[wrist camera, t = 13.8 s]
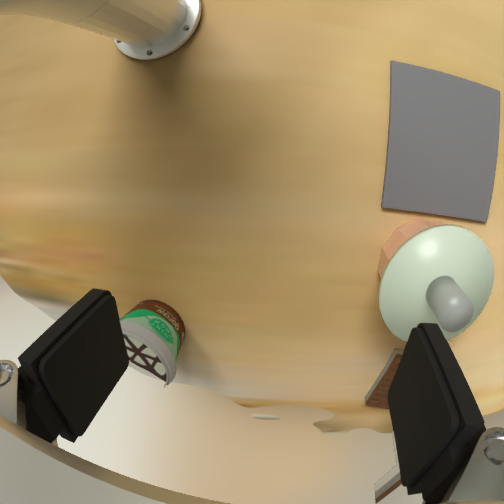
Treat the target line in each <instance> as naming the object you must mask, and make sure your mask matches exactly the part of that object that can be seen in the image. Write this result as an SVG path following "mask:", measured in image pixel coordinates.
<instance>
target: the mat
mask: <svg viewBox="0 0 504 504" xmlns="http://www.w3.org/2000/svg"><path fill="white" fill-rule="evenodd" d="M499 123H500V91H498V90H495V89H493V88H490V87H487V86H484V85H481V84H479V83H476V82H473V81H469V80H466V79H463V78H460V77H457V76H453V75H450V74H446V73H443V72H439V71H435V70H431V69H427V68H423V67H419V66H415V65H410V64H406V63H401V62H396V61H391V62H390V111H389V130H388V144H387V157H386V167H385V177H384V186H383V195H382V202H381V207H383V208H391V209H400V210H408V211H415V212H423V213H430V214H437V215H444V216H451V217H458V218H464V219H471V220H477V221H483V222H487V219H488V214H489V209H490V203H491V197H492V191H493V185H494V178H495V170H496V162H497V152H498V140H499Z"/></svg>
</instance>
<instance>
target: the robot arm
mask: <svg viewBox="0 0 504 504" xmlns="http://www.w3.org/2000/svg"><path fill="white" fill-rule="evenodd" d="M201 11H202V7H201V0H0V15H11V14H16V15H30V16H37V17H42V18H46V19H51V20H55V21H59V22H62V23H66V24H69V25H73V26H76V27H80V28H83V29H86V30H89V31H93V32H96V33H99V34H102V35H105V36H108V37H111V38H113V40H114V42H115V44H116V46H117V47H118V49H119V50H120V51H121V52H123V53H124V54H125V55H127V56H130V57H132V58H135V59H140V60H152V59H157V58H160V57H164V56H166V55H168V54H170V53H172V52H174V51H175V50H177V49H178V48H180V47H181V46H182V45H183V44H184V43H185V42H186V41H187V40H188V39H189V38H190V37H191V35H192V34H193V32H194V31H195V29H196V27H197V25H198V23H199V20H200V17H201ZM187 29H189V30H188V31H187ZM152 52H153V53H152ZM151 53H152V55H151ZM18 359H19V361H20V364H21V367H19V368H17V366H16V364H15V363H14V362H12V361H9V360H0V504H229V503H224V502H218V501H213V500H208V499H204V498H199V497H195V496H191V495H186V494H182V493H178V492H174V491H171V490H167V489H164V488H160V487H157V486H154V485H151V484H147V483H144V482H141V481H138V480H135V479H132V478H130V477H127V476H124V475H121V474H119V473H116V472H113V471H111V470H108V469H105V468H103V467H101V466H98V465H96V464H93V463H91V462H89V461H87V460H84V459H82V458H80V457H78V456H75V455H73V454H71V453H69V452H67V451H65V450H63V449H61V448H59V447H58V445H57V436H58V435H59V434H60V436H61V437H63V438H65V439H67V440H69V441H71V442H73V443H74V442H75V440H76V439H77V437H78V436H82V435H83V434H84V432H85V431H86V429H87V428H88V426H89V425H90V423H91V422H92V420H93V419H94V417H95V415H96V414H97V412H98V411H99V409H100V408H101V406H102V405H103V403H104V402H105V400H106V399H107V397H108V395H109V394H110V393H111V391H112V390H113V388H114V387H115V385H116V384H117V382H118V381H119V379H120V378H121V376H122V375H123V373H124V372H125V371H126V369H127V367H128V364H129V357H128V353H127V349H126V345H125V341H124V337H123V333H122V328H121V324H120V319H119V315H118V310H117V305H116V300H115V298H114V297H113V296H112V295H111V293H110V292H109V291H106V290H101V289H92V290H90V291H89V292H88V293H87V294H86V295H85V296H84V297H82V298H81V299H80V300H79V301H78V302H77V303H76V304H75V305H73V306H72V307H71V308H70V309H69V310H68V311H67V312H66V313H65V314H64V315H62V316H61V317H60V318H59V319H58V320H57V321H56V322H55V323H54V324H53V325H52V326H51V327H49V328H48V329H47V330H46V331H45V332H44V333H43V334H42V335H41V336H40V337H39V338H38V339H37V340H36V341H35V342H34V343H33V344H32V345H31V346H30V347H28V349H26V351H24V352H23V353H22V354H21V355H20V356H19V357H18ZM387 399H388V405H389V410H390V415H391V420H392V426H393V431H394V437H395V443H396V449H397V455H398V462H399V469H400V476H401V483H402V485H403V486H404V487H407V493H408V495H413V494H420V493H422V498H423V500H424V501H423V502H422V504H504V428H501V427H493V428H490V429H487V430H486V428H485V426H484V420H483V417H482V415H481V412H480V410H479V408H478V405H477V403H476V401H475V398H474V396H473V394H472V392H471V389H470V387H469V385H468V383H467V381H466V379H465V377H464V374H463V372H462V370H461V368H460V366H459V364H458V362H457V360H456V358H455V356H454V354H453V352H452V350H451V348H450V346H449V344H448V342H447V340H446V339H445V337H444V335H443V333H442V331H441V329H440V327H439V325H438V324H436V323H419V324H418V325H417V327H414V328H412V330H411V332H410V335H409V338H408V341H407V344H406V347H405V349H404V352H403V355H402V357H401V360H400V363H399V365H398V368H397V370H396V373H395V376H394V378H393V380H392V383H391V385H390V388H389V390H388V396H387Z"/></svg>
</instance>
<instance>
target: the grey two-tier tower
mask: <svg viewBox="0 0 504 504" xmlns="http://www.w3.org/2000/svg"><path fill="white" fill-rule="evenodd" d="M403 352H404V350H399V349H395V350H394V352H393V353H392V355H391V357H390V359H389V360H388V362H387V364H386V365H385V367H384V369H383V370H382V372H381V373H380V375H379V377H378V378H377V380H376V381H375V383H374V384H373V386H372V388H371V389H370V391H369V392H368V394H367V395H366V397H365V400H366V406H371V407H379V408H386V409H389V405H388V399H387V396H388V390H389V388H390V385H391V383H392V380H393V378H394V376H395V373H396V370H397V368H398V365H399V363H400V360H401V357H402V355H403ZM392 436H393V443H394V449H395V455H396V463H397V465H396V466H395V467H394V468H392V469H391V470H390V471H389V472H388V473H387V474H386V475H385V476H384V477H382V478H381V479H380V480H379V481H378V482H377V483H375V484H374V485H375V500H376V504H422V502H423V501H424V500H423V498H422V493H420V494H413V495H408V493H407V487H404V486H403V485H402V483H401V476H400V469H399V462H398V455H397V449H396V443H395V437H394V431H393V432H392Z"/></svg>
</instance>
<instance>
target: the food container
mask: <svg viewBox="0 0 504 504" xmlns="http://www.w3.org/2000/svg"><path fill="white" fill-rule="evenodd" d="M120 324H121V328H122V333H123V337H124V341H125V345H126V349H127V353H128V357H129V360H130V361H131V362H132V363H134V364H136V365H138V366H140V367H142V368H144V369H146V370H147V371H149V372H151V373H153V374H154V375H156V376H157V377H159V378H160V379H162V380H164V381H165V382H166V384H167V385H168V384H169V383H170V382H171V381H172V380H173V379H174V377H175V374H176V363H175V361H176V358H177V355H178V353H179V350H180V347H181V344H182V342H183V339H184V334H185V328H184V324H183V321H182V319H181V318H180V316H179V314H178V313H177V312H176V311H175V310H174V309H173V308H171V307H170V306H169V305H167V304H165V303H163V302H161V301H157V300H145V301H142V302H140V303H139V304H137V305H136V306H135V307H134V308H133V309H131V310H130V311H129V312H128V313H127V314H126V315H125V316H123V317H122V318H121V319H120ZM166 384H165V386H166ZM165 386H164V387H165Z"/></svg>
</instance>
